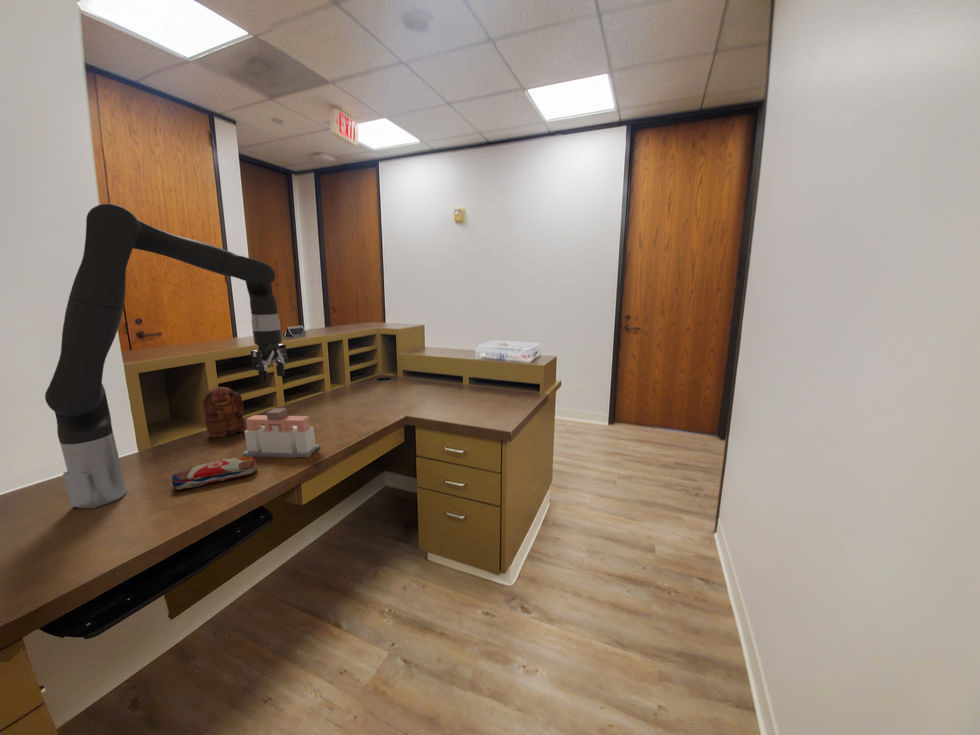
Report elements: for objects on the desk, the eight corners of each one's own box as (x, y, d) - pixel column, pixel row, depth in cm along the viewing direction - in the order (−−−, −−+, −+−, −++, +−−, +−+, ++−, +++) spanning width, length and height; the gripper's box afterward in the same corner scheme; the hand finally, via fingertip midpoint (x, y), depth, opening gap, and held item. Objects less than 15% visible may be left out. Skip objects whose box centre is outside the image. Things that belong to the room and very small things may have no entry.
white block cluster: (307, 457, 120) (304, 428, 118) (242, 456, 122) (238, 427, 120) (320, 447, 128) (317, 419, 126) (258, 445, 129) (254, 418, 127)
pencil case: (248, 485, 105) (246, 468, 103) (165, 495, 99) (162, 478, 98) (260, 467, 115) (258, 452, 114) (186, 475, 110) (183, 459, 109)
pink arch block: (303, 432, 120) (301, 413, 119) (247, 431, 122) (244, 412, 120) (310, 427, 125) (308, 408, 123) (256, 426, 126) (253, 407, 124)
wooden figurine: (210, 440, 134) (201, 392, 130) (207, 435, 139) (199, 388, 135) (248, 431, 142) (241, 386, 138) (244, 427, 147) (237, 382, 143)
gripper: (263, 331, 109) (270, 385, 112) (291, 326, 123) (296, 374, 126) (238, 331, 109) (246, 384, 113) (269, 326, 123) (275, 373, 127)
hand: (273, 379), depth 120 cm, fingers open, 8 cm apart
